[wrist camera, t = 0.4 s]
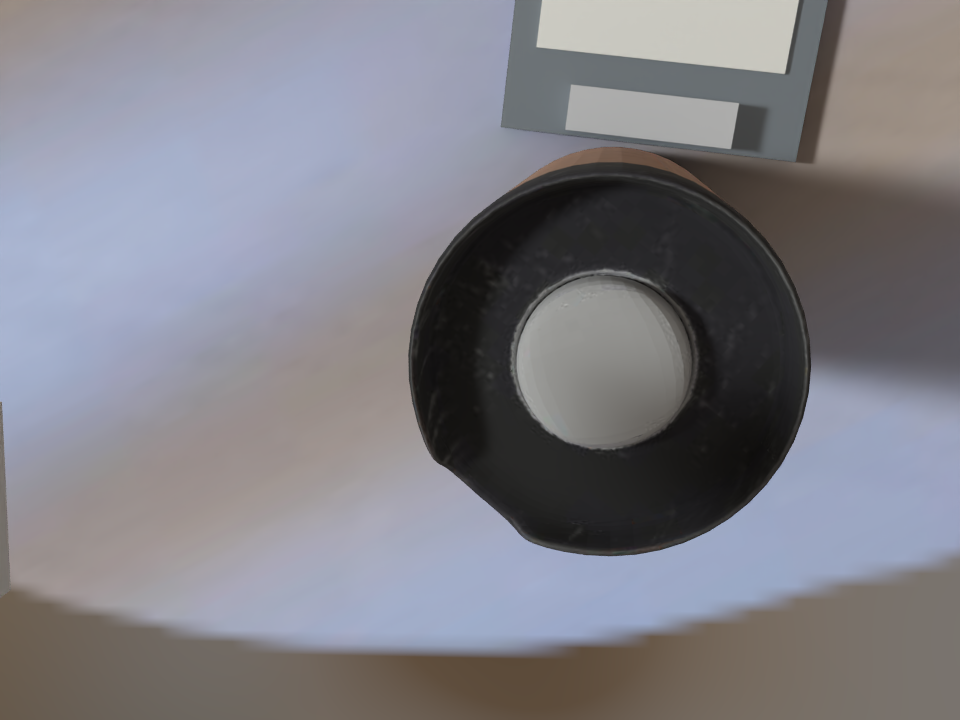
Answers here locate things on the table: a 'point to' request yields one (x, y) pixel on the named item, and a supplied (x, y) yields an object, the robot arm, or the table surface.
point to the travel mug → (610, 356)
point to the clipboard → (666, 72)
